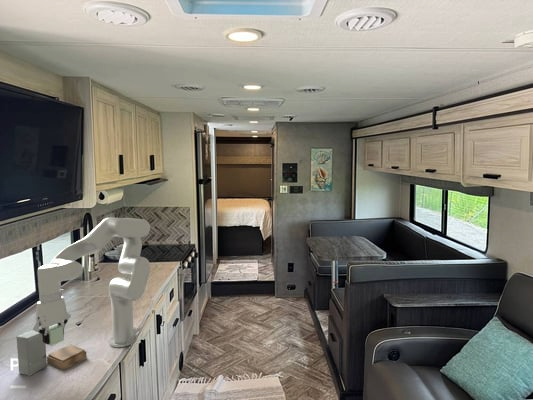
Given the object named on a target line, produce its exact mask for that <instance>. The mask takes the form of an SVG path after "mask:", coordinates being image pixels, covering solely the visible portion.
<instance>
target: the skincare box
mask: <svg viewBox="0 0 533 400" xmlns="http://www.w3.org/2000/svg"><path fill="white" fill-rule="evenodd" d="M15 337H16V349H17V362H18V373H19V374H23V375H26V376H29V377H30V376H31V375H34V374H36V373H38V372H39V371H40V370H43V369H44V368H46V367H47V366H48V364H47V348H46V347H47V346H46V345H47V344H45V343H44V342H43V337H42V334H41V333H39V332H36V331H33V329H31V330H29V331H25V332H23V333H22V334H18V335H17V336H15Z"/></svg>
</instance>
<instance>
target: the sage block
mask: <svg viewBox="0 0 533 400" xmlns="http://www.w3.org/2000/svg"><path fill="white" fill-rule="evenodd" d="M48 334H49V339H50V344H47V345H48V346H52V347H53V346H54V345H56V344H59V343H61V342H64V340H65V338H64V337H65V334H64V335H63V326H61V325H59V324H55V325H52V326H50V327H49V330H48Z"/></svg>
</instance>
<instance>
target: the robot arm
mask: <svg viewBox="0 0 533 400" xmlns="http://www.w3.org/2000/svg"><path fill="white" fill-rule="evenodd" d="M150 229H151V225H150V223H149V222H148V220H146V219H143V218H136V217H135V218H134V217H122V218H121V217H113V216H112V217H111V216H110V217H106V218H104V219H102V220H101V221H100V223H98V224H97V225H96V226H95V227H94V228H93V229H92V230H91V231H90V232H89V233H88V234H87V235H86V236H84V237H83V238H82V239H79V240H77V241H76V242H73V243H72V244H69V245H68V246H67V247H65V248H64V249H62V250H61V251H60V252H59V253H58V254H57V255H55V256H54V258H53V259H52V260H51V261H50V263H49V264H48V263H47V264H44V265H41V266H40V267H38V268H37V271H36V272H37V281H38V282H37V286H38V295H39V301H37V302H36V309H35V325H34V326H33V328H32V330H33V331H36V332H39V333H41V334H42V337H43V342H44V343H45V344H46V345H48V344H50V339H49V334H48V330H49V327H50V326H52V325H55V324H59V325H61V326H63V335H64V336H65V327H66V325H67V323H68V321H69V320H70V319H71V317H72V315H71V314H70V313H69V312H67V306H66V302H65V299H64V296H63V294H64V293H65V289H62V282H66V281H72V280H75V279H77V278H79V277H80V276H81V275H82V273H83V268H84V267H83V265H82V264H81V263H80V262H79V261H76V260H78V259H80V258H82V257H85V256H89V255H93V254H95V253H98V252H101V250H103V248H104V247H105V246H106V245H107V244H108V243H109V242H110V241H111V240H112V239H113V238H115V237H116V238H122V240H123V246H122V250H121V254H120V256H119V257H120V258H119V261H118V265H117V270H118V272H119V273H121V274H122V275H126V276H131V277H130V278H129V277H124V276H116V277H114V278H112V279H111V280H110V281H109V284H108V289H107V290H108V295H109V298H110V308H111V330H112V331H111V332H112V333H111V334H112V337H111V338H110V339H109V342H108V343H109V344H108V345H110V346H111V347H113V348H126V347H129V346H131V345H133V344H135V343H136V342H137V341H138V336H137V333H138V332H140V331H142V327H141V326H138V327H135V326H134V306H133V302H137V301H139V300H140V299H141V298H142V297H143V294H144V293H145V290H146V287H147V282H148V278H149V275H150V271H151V263H150V261H149V260H148V258H146V257H144V256H141V252H142V246H143V244H142V243H143V242H142V238H144V237H146V236H147V235H148V234H149V233H150V231H151V230H150Z"/></svg>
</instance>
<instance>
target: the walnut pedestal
mask: <svg viewBox="0 0 533 400" xmlns="http://www.w3.org/2000/svg"><path fill="white" fill-rule="evenodd" d="M87 357H88V356H87V350H85V349H83V348H80V346H79V347H78V346H76V345H74V344H71V343H70V344H68V345H66V346H63V347H62V348H59V349H57V350H55V351H53V352H49V353H48V355H46V360H47V365H50V366H52V367H54V368H56V369H58V370H60V371H64V370H67V369H68V368H70V367H72V366H75V365H76V364H78V363H80V362H82V361H84V360H86V359H88V358H87Z"/></svg>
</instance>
